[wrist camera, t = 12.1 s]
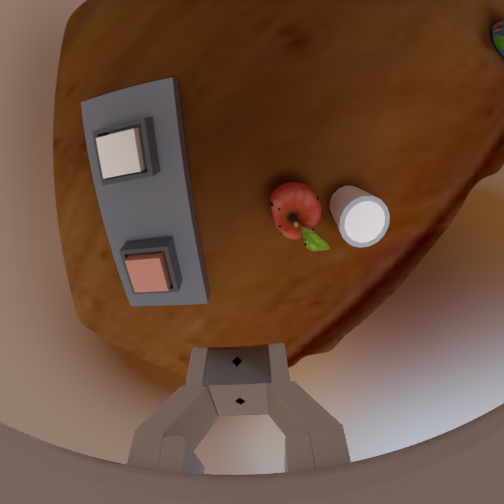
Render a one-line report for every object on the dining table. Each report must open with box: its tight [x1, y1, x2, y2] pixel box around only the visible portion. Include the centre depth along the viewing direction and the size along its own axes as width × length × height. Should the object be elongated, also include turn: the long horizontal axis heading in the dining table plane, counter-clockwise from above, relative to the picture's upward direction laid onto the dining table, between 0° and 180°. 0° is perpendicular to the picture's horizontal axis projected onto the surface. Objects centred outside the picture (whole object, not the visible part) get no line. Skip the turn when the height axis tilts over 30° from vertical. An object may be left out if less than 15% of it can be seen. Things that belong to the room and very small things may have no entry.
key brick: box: [125, 251, 172, 292], centre depth 37 cm, size 5×5×3 cm
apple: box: [270, 182, 330, 251], centre depth 35 cm, size 8×7×10 cm
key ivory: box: [96, 127, 147, 179], centre depth 30 cm, size 5×5×3 cm
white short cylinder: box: [330, 185, 390, 247], centre depth 36 cm, size 7×7×7 cm
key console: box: [81, 77, 210, 306], centre depth 36 cm, size 32×13×6 cm, turn 5°
